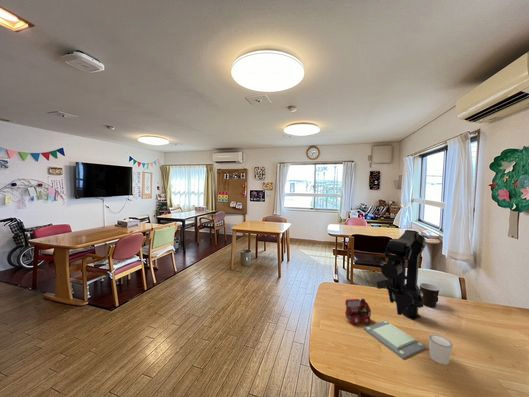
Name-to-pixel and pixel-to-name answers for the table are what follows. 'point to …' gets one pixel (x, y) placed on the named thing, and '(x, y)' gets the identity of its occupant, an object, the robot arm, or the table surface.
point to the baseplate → (395, 339)
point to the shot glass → (440, 349)
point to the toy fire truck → (358, 311)
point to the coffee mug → (429, 294)
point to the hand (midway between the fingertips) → (395, 308)
